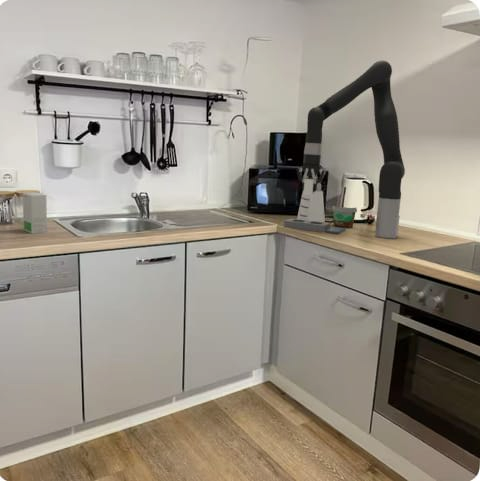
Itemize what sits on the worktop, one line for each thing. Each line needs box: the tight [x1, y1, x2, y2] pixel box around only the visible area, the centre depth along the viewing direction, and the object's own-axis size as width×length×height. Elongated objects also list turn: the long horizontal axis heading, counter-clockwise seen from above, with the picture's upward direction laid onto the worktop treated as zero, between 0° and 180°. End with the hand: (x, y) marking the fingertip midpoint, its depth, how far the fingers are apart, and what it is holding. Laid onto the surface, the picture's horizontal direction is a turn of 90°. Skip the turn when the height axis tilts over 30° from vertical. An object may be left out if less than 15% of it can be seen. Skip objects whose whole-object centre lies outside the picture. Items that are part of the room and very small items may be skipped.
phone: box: [324, 226, 347, 235], centre depth 209 cm, size 6×12×1 cm, turn 152°
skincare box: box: [22, 191, 48, 235], centre depth 183 cm, size 8×7×16 cm
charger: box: [302, 178, 315, 195], centre depth 207 cm, size 4×4×7 cm
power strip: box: [283, 218, 331, 233], centre depth 215 cm, size 20×9×3 cm, turn 62°
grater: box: [296, 183, 326, 222], centre depth 236 cm, size 10×10×20 cm
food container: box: [331, 205, 358, 229], centre depth 221 cm, size 12×6×10 cm, turn 62°
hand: (309, 191), depth 208 cm, fingers closed on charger, 4 cm apart
